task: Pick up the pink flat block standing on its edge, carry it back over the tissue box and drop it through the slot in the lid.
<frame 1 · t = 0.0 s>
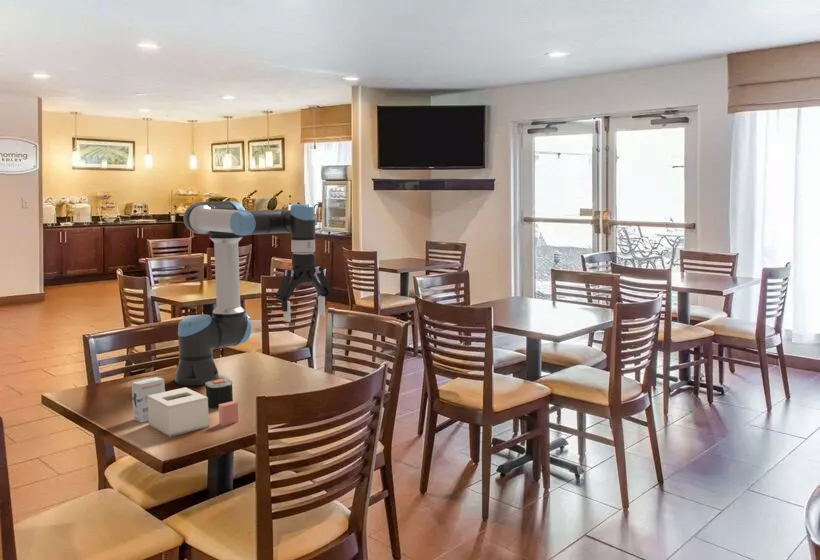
hand: (304, 318, 223), 28 cm above the table, fingers open, 13 cm apart
tissue box: (178, 425, 205), on the table
pink flat block: (228, 422, 207), on the table
ink box: (150, 418, 212), on the table
sushi: (219, 404, 225), on the table
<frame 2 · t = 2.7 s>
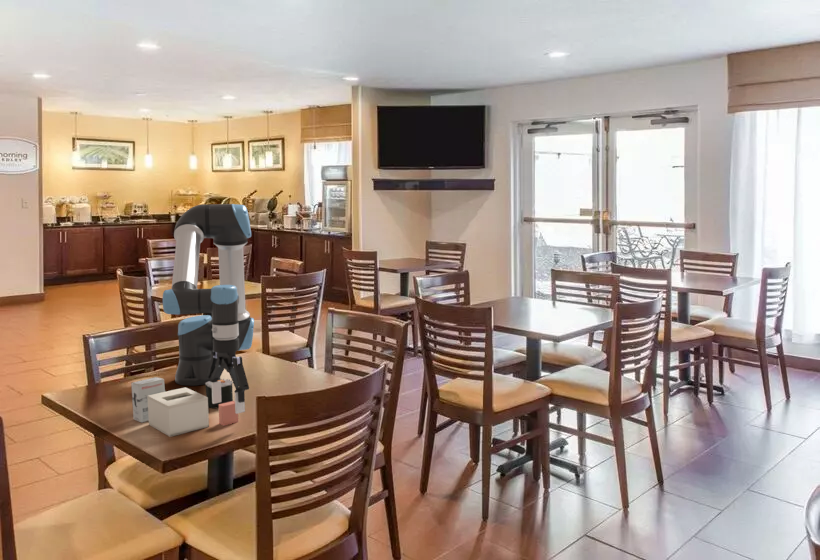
hand: (228, 407, 206), 5 cm above the table, fingers open, 13 cm apart
nothing on the table moved.
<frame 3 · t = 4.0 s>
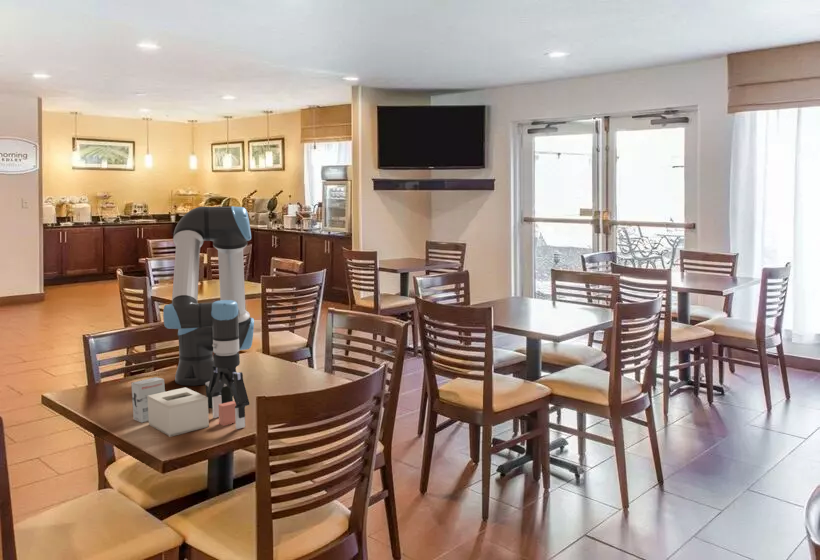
hand: (228, 422, 207), 0 cm above the table, fingers open, 13 cm apart
nothing on the table moved.
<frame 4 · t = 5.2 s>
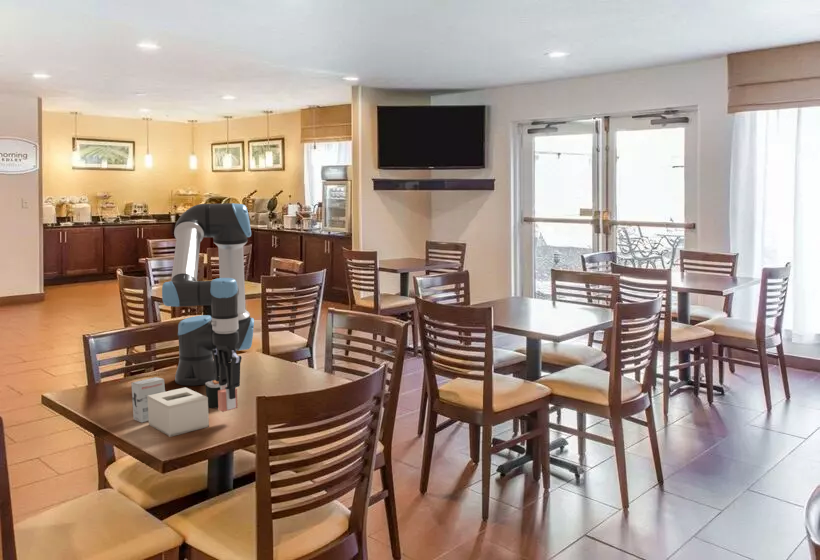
hand: (228, 407, 207), 5 cm above the table, fingers closed on pink flat block, 2 cm apart
pink flat block: (228, 408, 207), point 4 cm above the table, touching gripper
everything else where it was.
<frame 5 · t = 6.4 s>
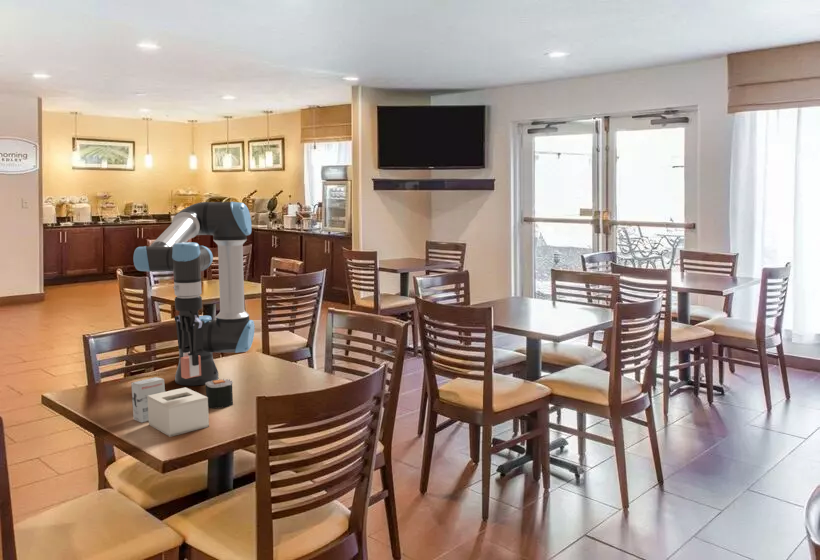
hand: (191, 374, 204), 15 cm above the table, fingers closed on pink flat block, 2 cm apart
pink flat block: (191, 376, 204), point 15 cm above the table, touching gripper
everything else where it was.
when the fingers open (10 cm above the table, at t = 7.9 s): pink flat block drops 9 cm, resting on tissue box.
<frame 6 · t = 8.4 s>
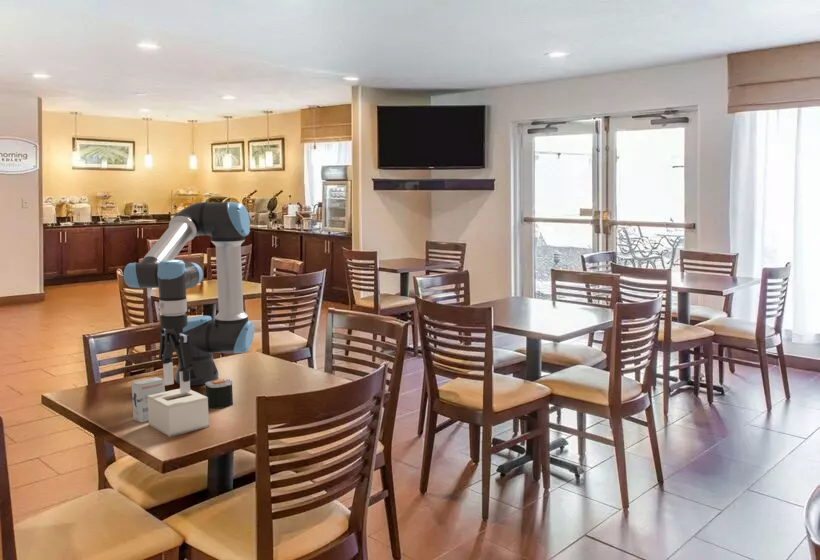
hand: (177, 388, 203), 11 cm above the table, fingers open, 10 cm apart
pink flat block: (178, 423, 205), point 1 cm above the table, touching tissue box
everything else where it was.
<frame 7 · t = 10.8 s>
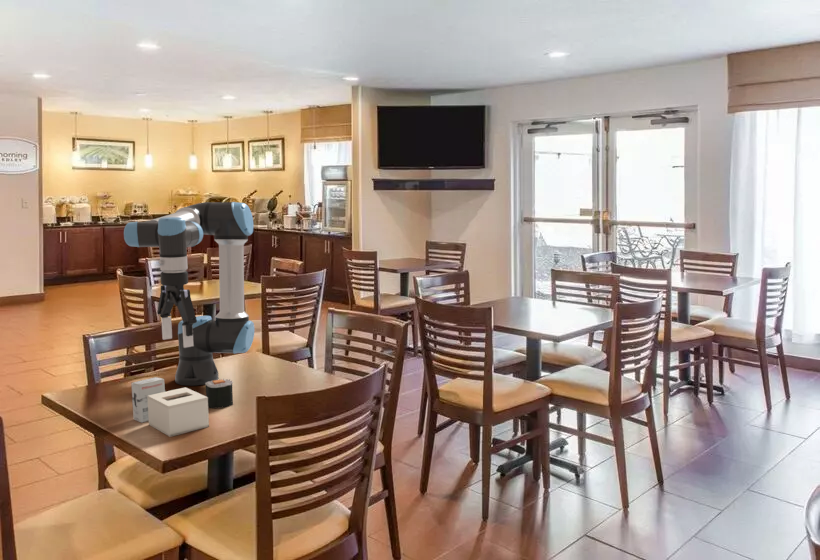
hand: (177, 342, 203), 25 cm above the table, fingers open, 13 cm apart
nothing on the table moved.
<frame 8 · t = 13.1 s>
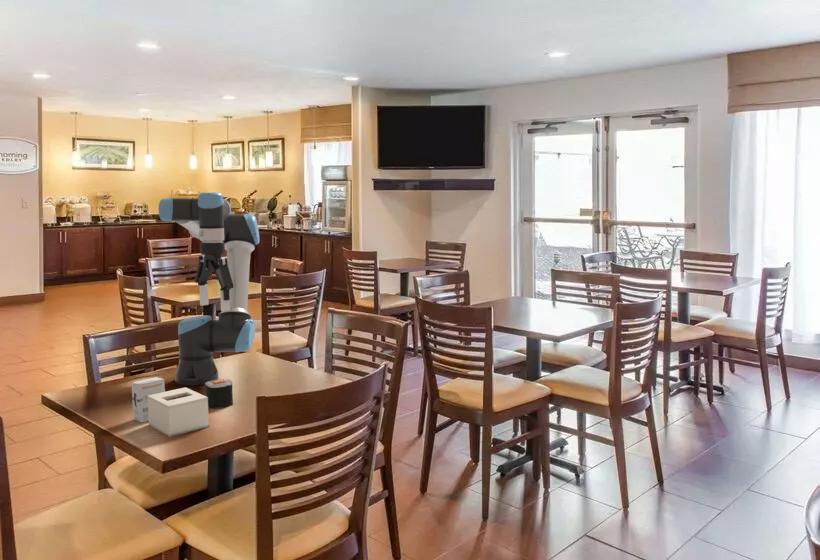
hand: (214, 307, 221), 32 cm above the table, fingers open, 13 cm apart
nothing on the table moved.
at the end: pink flat block inside the target area on the tissue box (0.1 cm from its centre), point 0.6 cm above the tissue box's base; the gripper is holding nothing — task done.
